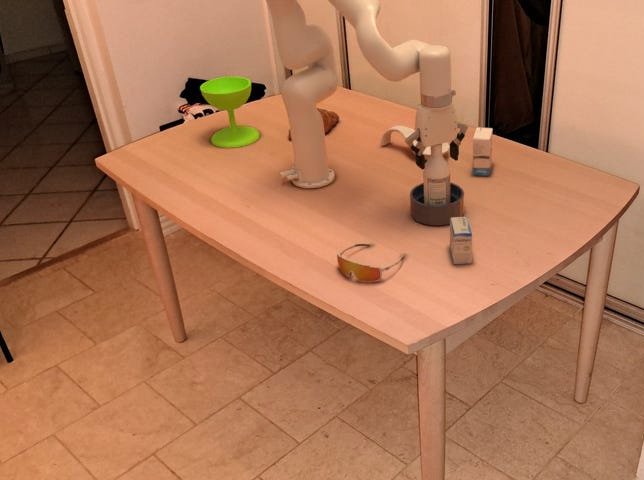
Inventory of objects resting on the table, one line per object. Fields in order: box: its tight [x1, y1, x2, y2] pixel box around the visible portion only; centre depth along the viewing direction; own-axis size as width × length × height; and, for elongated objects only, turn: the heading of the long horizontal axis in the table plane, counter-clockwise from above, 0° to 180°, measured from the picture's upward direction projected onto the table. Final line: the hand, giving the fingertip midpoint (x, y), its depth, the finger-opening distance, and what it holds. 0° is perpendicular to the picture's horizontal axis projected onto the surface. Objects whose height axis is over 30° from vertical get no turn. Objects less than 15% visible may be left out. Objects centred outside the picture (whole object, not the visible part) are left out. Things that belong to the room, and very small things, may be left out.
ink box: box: [472, 126, 494, 177], centre depth 207 cm, size 9×5×12 cm, turn 168°
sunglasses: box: [336, 242, 405, 283], centre depth 169 cm, size 14×15×5 cm
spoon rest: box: [380, 125, 450, 161], centre depth 219 cm, size 24×12×7 cm, turn 56°
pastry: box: [288, 107, 340, 141], centre depth 236 cm, size 17×15×8 cm
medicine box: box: [449, 216, 473, 265], centre depth 170 cm, size 8×4×9 cm, turn 5°
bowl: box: [409, 182, 465, 226], centre depth 188 cm, size 14×14×6 cm
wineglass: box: [199, 76, 261, 149], centre depth 230 cm, size 16×16×18 cm
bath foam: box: [422, 143, 451, 206], centre depth 184 cm, size 7×7×20 cm
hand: (437, 163), depth 181 cm, fingers open, 9 cm apart
